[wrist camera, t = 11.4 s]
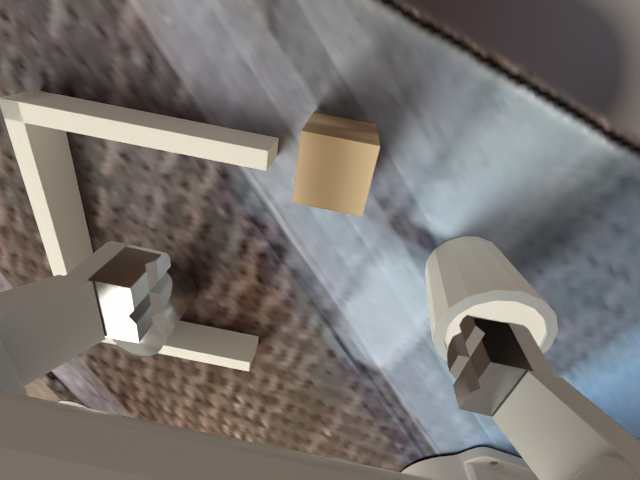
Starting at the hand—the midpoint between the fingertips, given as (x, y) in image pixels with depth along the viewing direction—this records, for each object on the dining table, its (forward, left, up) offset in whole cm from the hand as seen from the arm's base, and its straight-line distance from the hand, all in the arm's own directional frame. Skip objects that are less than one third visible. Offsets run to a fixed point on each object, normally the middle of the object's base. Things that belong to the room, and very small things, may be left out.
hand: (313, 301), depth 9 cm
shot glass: (-11, +7, -15) cm, 20 cm away
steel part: (+12, +15, -15) cm, 24 cm away
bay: (+12, +10, -15) cm, 22 cm away
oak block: (0, 0, -15) cm, 15 cm away
